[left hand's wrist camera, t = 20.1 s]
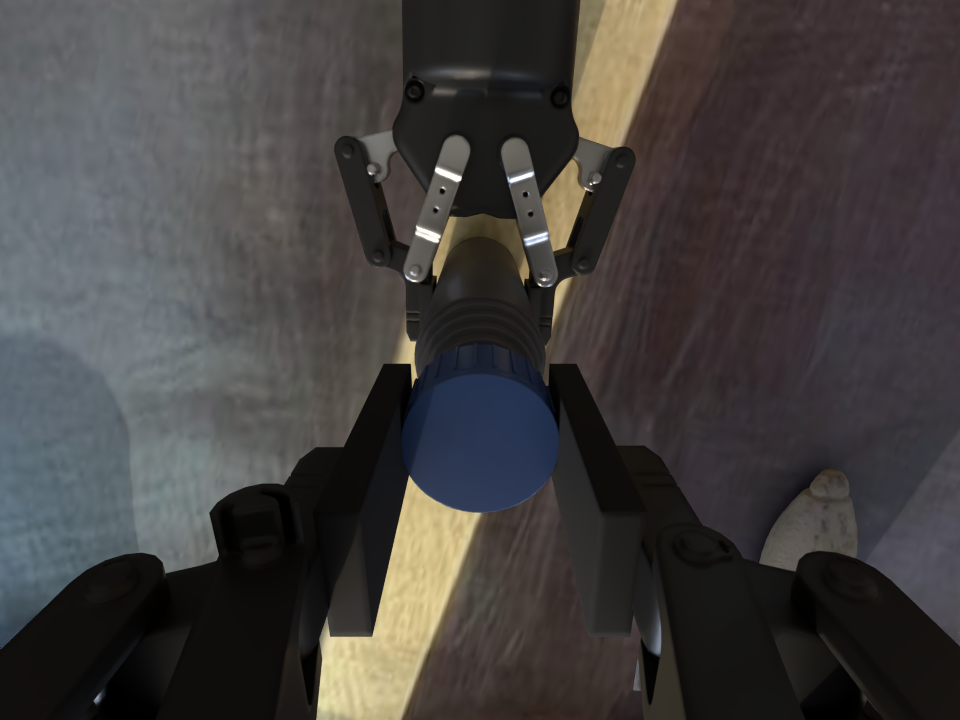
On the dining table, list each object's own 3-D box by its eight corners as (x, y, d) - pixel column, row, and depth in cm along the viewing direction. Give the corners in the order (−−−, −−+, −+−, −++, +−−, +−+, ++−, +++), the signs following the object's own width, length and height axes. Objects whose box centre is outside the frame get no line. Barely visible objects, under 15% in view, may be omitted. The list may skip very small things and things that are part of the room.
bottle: (427, 270, 32) (350, 426, 13) (484, 221, 31) (491, 311, 12) (475, 325, 34) (470, 539, 14) (532, 279, 32) (607, 445, 13)
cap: (580, 417, 15) (595, 456, 13) (471, 493, 16) (470, 540, 14) (490, 312, 14) (492, 337, 12) (379, 400, 15) (363, 437, 13)
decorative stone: (861, 460, 37) (897, 488, 34) (809, 620, 42) (836, 657, 39) (777, 459, 37) (805, 487, 34) (736, 620, 42) (757, 657, 39)
